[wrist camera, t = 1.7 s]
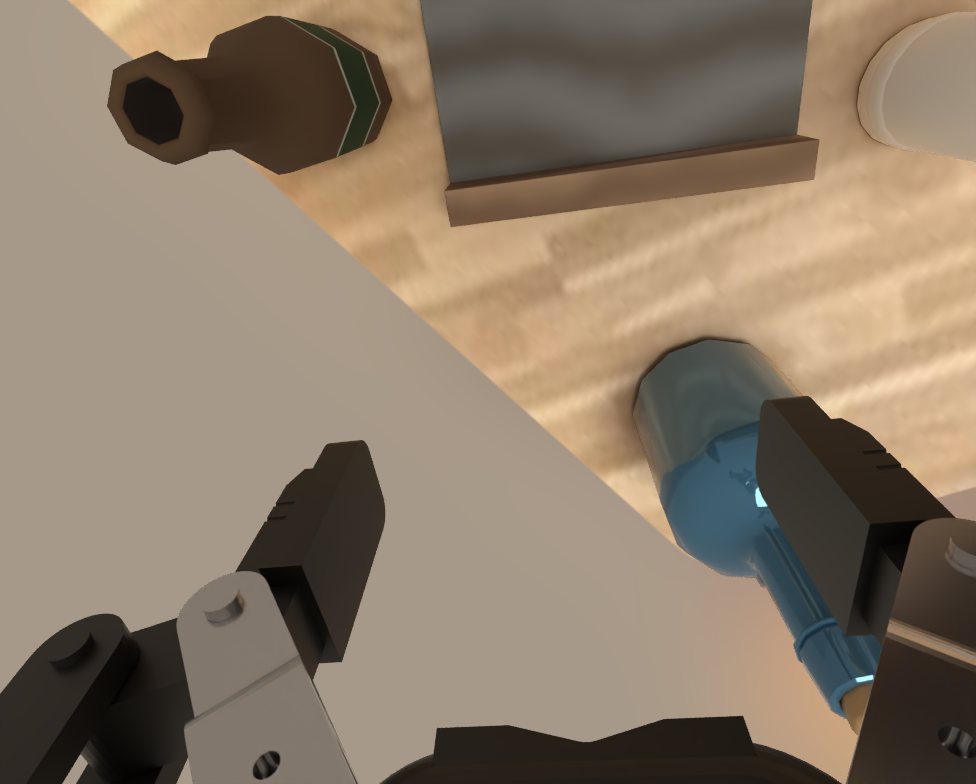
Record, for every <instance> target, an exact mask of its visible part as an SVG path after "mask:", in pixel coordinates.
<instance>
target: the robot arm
mask: <svg viewBox="0 0 976 784" xmlns="http://www.w3.org/2000/svg"><path fill="white" fill-rule="evenodd" d="M755 469H756V479H757V484H758V488H759V491H760V493H761V496H762V497H763V499H764V501H765V503H766V504H767V506H768V508H769V509H770V511H771V513H772V514H773V516H774V518H775V519H776V521H777V523H778V524H779V526H780V528H781V529H782V531H783V533H784V534H785V536H786V538H787V540H788V541H789V543H790V545H791V546H792V548H793V550H794V551H795V553H796V555H797V556H798V558H799V560H800V561H801V563H802V565H803V566H804V568H805V570H806V571H807V573H808V575H809V576H810V578H811V580H812V582H813V583H814V585H815V587H816V588H817V590H818V592H819V593H820V595H821V597H822V598H823V600H824V602H825V603H826V605H827V607H828V608H829V610H830V612H831V613H832V615H833V617H834V618H835V620H836V622H837V623H838V625H839V627H840V629H841V630H842V632H843V634H844V635H845V636H862V635H874V636H875V637H876V639H877V641H878V642H879V644H880V645H881V647H882V649H881V652H880V656H879V660H878V664H877V667H876V671H875V675H874V679H873V682H872V686H871V690H870V694H869V698H868V701H867V705H866V709H865V713H864V716H863V720H862V724H861V728H860V732H859V735H858V739H857V743H856V747H855V751H854V754H853V758H852V762H851V766H850V770H849V773H848V777H847V781H846V784H976V521H971V520H965V519H958V518H955V517H954V516H953V515H952V514H951V513H950V512H949V511H948V510H947V509H946V508H945V507H944V506H943V505H942V504H941V503H940V502H939V501H938V500H937V499H936V498H935V497H934V496H933V495H932V494H931V493H930V492H929V491H928V490H927V489H926V488H925V487H924V486H923V485H922V484H921V483H920V482H919V481H918V480H917V479H916V478H915V477H914V476H913V475H912V474H911V473H910V472H909V471H908V470H907V469H906V468H902V467H901V464H900V463H899V462H898V461H897V460H896V459H895V458H894V457H893V456H892V455H891V454H890V453H887V452H886V449H885V448H884V447H883V446H882V445H881V444H880V443H879V442H878V441H877V440H876V439H875V438H874V437H873V436H872V435H871V434H870V433H869V432H867V431H865V430H863V429H862V428H860V427H858V426H856V425H854V424H852V423H850V422H848V421H846V420H844V419H842V418H838V419H830V417H829V416H828V415H827V414H826V413H825V412H824V411H823V410H822V409H821V408H820V407H819V406H818V405H817V404H816V403H815V402H814V401H813V400H812V399H811V398H810V397H809V396H798V397H789V398H779V399H769V400H765V401H764V402H763V403H762V406H761V410H760V420H759V431H758V442H757V453H756V466H755ZM267 519H268V520H267V522H264V524H263V526H262V528H261V529H260V531H259V533H258V534H257V536H256V538H255V539H254V541H253V543H252V545H251V546H250V548H249V550H248V551H247V553H246V555H245V556H244V558H243V560H242V561H241V563H240V565H239V566H238V568H237V570H236V572H235V573H230V574H227V575H224V576H222V577H220V578H217V579H215V580H213V581H212V582H210V583H208V584H207V585H205V586H204V587H202V588H201V589H200V590H198V591H197V592H196V593H195V594H194V595H193V596H192V597H191V598H190V599H189V600H188V601H187V603H186V604H185V605H184V606H183V608H182V610H181V611H180V613H179V616H178V618H175V619H172V620H169V621H166V622H163V623H160V624H157V625H154V626H151V627H148V628H144V629H141V630H139V631H135V632H132V633H130V631H129V630H128V628H127V627H126V625H125V624H124V622H123V621H122V619H121V618H120V617H118V616H116V615H113V614H98V615H93V616H90V617H87V618H84V619H81V620H79V621H77V622H74V623H72V624H70V625H68V626H67V627H65V628H63V629H62V630H60V631H59V632H57V633H56V634H54V635H53V636H51V637H50V638H49V639H48V640H47V641H45V642H44V643H43V644H42V645H41V646H40V647H39V648H38V649H37V650H36V651H35V652H34V653H33V654H32V655H31V657H30V658H29V659H28V660H27V661H26V663H25V664H24V665H23V666H22V668H21V669H20V670H19V671H18V672H17V674H16V675H15V676H14V677H13V679H12V680H11V681H10V682H9V684H8V685H7V686H6V688H5V689H4V690H3V691H2V692H1V694H0V784H62V783H63V781H64V780H65V778H66V777H67V775H68V773H69V772H70V770H71V768H72V767H73V765H74V763H75V762H76V760H77V758H78V757H79V755H80V754H81V755H82V756H83V757H84V759H85V760H86V761H87V762H88V765H87V766H86V768H85V770H84V771H83V773H82V775H81V776H80V778H79V780H78V782H77V783H76V784H176V783H177V781H178V778H179V776H180V774H181V772H182V770H183V767H184V765H185V763H186V761H187V758H189V764H190V769H191V774H192V781H193V784H359V782H358V780H357V778H356V776H355V773H354V771H353V769H352V767H351V765H350V762H349V760H348V758H347V756H346V754H345V751H344V749H343V747H342V744H341V742H340V740H339V738H338V735H337V733H336V731H335V729H334V726H333V724H332V722H331V720H330V717H329V715H328V713H327V711H326V709H325V706H324V704H323V702H322V700H321V698H320V695H319V693H318V691H317V688H316V686H315V684H314V682H313V678H314V675H315V673H316V669H317V667H318V664H319V663H332V662H342V660H343V657H344V653H345V650H346V647H347V644H348V641H349V637H350V634H351V631H352V628H353V624H354V621H355V618H356V615H357V612H358V609H359V605H360V602H361V599H362V596H363V592H364V589H365V586H366V583H367V579H368V576H369V573H370V570H371V567H372V564H373V560H374V557H375V554H376V550H377V548H378V544H379V541H380V538H381V535H382V531H383V528H384V523H385V504H384V498H383V495H382V491H381V488H380V485H379V481H378V478H377V475H376V472H375V468H374V465H373V461H372V458H371V455H370V451H369V448H368V446H367V444H366V443H365V442H364V441H363V440H358V441H348V442H339V443H329V444H327V445H326V446H325V447H324V449H323V451H322V453H321V455H320V457H319V458H318V460H317V462H316V464H315V466H314V467H313V468H312V469H304V470H303V471H302V472H301V473H300V474H299V475H298V476H297V477H295V478H294V479H293V480H292V481H291V482H290V483H289V484H287V485H286V487H285V489H284V490H283V492H282V494H281V495H280V497H279V499H278V500H277V502H276V507H273V509H272V511H271V512H270V514H269V516H268V518H267ZM380 784H841V783H840V782H839V781H837V780H836V779H834V778H833V777H831V776H830V775H828V774H827V773H825V772H823V771H821V770H819V769H818V768H816V767H814V766H812V765H811V764H809V763H807V762H805V761H803V760H801V759H798V758H796V757H794V756H791V755H789V754H787V753H785V752H782V751H779V750H776V749H773V748H770V747H767V746H764V745H759V744H755V743H752V740H751V737H750V734H749V732H748V729H747V726H746V723H745V720H744V718H743V716H729V717H705V718H679V719H663V720H660V721H657V722H654V723H650V724H647V725H644V726H641V727H638V728H635V729H631V730H629V731H625V732H622V733H619V734H616V735H613V736H610V737H606V738H603V739H600V740H597V741H593V742H578V741H574V740H570V739H566V738H561V737H557V736H552V735H548V734H544V733H539V732H535V731H531V730H526V729H522V728H518V727H514V726H509V725H504V726H479V727H454V728H437V732H436V739H435V747H434V754H432V755H429V756H426V757H424V758H421V759H419V760H417V761H415V762H413V763H411V764H408V765H406V766H405V767H403V768H401V769H400V770H398V771H397V772H395V773H393V774H392V775H390V776H389V777H388V778H386V779H385V780H384V781H383V782H381V783H380Z"/></svg>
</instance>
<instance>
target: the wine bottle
mask: <svg viewBox="0 0 976 784" xmlns="http://www.w3.org/2000/svg"><path fill="white" fill-rule="evenodd" d="M798 396H803V395H802V393H801V392H800V391H799V390H798V389H797V388H796V387H795V385H794V384H793V383H792V382H791V381H790V380H789V379H788V377H787V376H786V375H785V374H784V373H783V372H782V371H781V369H780V368H779V367H778V366H777V365H776V364H774V363H773V362H772V361H770V360H769V359H768V358H767V357H765V356H764V355H763V354H762V353H760V352H759V351H758V350H757V349H755V348H754V347H753V346H752V345H750V344H744V343H735V342H726V341H718V340H709V339H706V340H703V341H700V342H698V343H695V344H692V345H689V346H686V347H683V348H681V349H678V350H675V351H672V352H669V353H668V354H667V355H666V356H665V357H664V358H663V359H662V360H661V361H660V362H659V363H658V364H657V365H656V366H655V367H654V368H653V369H652V370H651V371H650V372H649V373H648V374H647V375H646V376H645V377H644V378H643V380H642V382H641V385H640V389H639V393H638V397H637V400H636V404H635V408H634V411H633V417H634V420H635V423H636V426H637V429H638V432H639V435H640V439H641V442H642V445H643V448H644V451H645V454H646V457H647V460H648V464H649V467H650V470H651V473H652V476H653V479H654V482H655V485H656V489H657V492H658V495H659V498H660V501H661V504H662V507H663V509H664V512H665V514H666V517H667V520H668V522H669V525H670V527H671V530H672V533H673V535H674V538H675V540H676V543H677V545H678V546H679V547H681V548H682V549H683V550H684V551H685V552H686V553H688V554H689V555H691V556H693V557H694V558H696V559H697V560H699V561H700V562H702V563H704V564H705V565H707V566H708V567H710V568H711V569H713V570H715V571H716V572H718V573H720V574H721V575H725V576H731V577H746V578H756V579H757V581H758V583H759V584H760V586H761V587H763V588H767V590H768V592H769V594H770V596H771V598H772V600H773V601H774V603H775V605H776V607H777V609H778V611H779V612H780V615H781V616H782V619H783V620H784V622H785V624H786V626H787V628H788V630H789V632H790V634H791V636H792V637H793V639H794V641H795V642H794V649H795V652H796V656H797V659H798V660H799V661H800V662H802V663H803V666H804V667H805V669H806V670H807V672H808V674H809V675H810V677H811V679H812V680H813V682H814V683H815V685H816V686H817V688H818V690H819V691H820V693H821V695H822V696H823V698H824V699H825V701H826V703H827V704H828V706H829V708H830V709H831V711H833V712H834V713H836V714H838V715H839V716H841V717H843V718H845V719H847V720H848V722H849V724H850V726H851V728H852V730H853V731H854V732H855V733H856V734H857V735H859V732H860V728H861V724H862V720H863V716H864V713H865V709H866V705H867V701H868V698H869V694H870V690H871V686H872V682H873V679H874V675H875V671H876V667H877V664H878V660H879V656H880V652H881V649H882V647H881V645H880V644H879V642H878V641H877V639H876V637H875V636H874V635H862V636H845V635H844V634H843V632H842V630H841V629H840V627H839V625H838V623H837V622H836V620H835V618H834V617H833V615H832V613H831V612H830V610H829V608H828V607H827V605H826V603H825V602H824V600H823V598H822V597H821V595H820V593H819V592H818V590H817V588H816V587H815V585H814V583H813V582H812V580H811V578H810V576H809V575H808V573H807V571H806V570H805V568H804V566H803V565H802V563H801V561H800V560H799V558H798V556H797V555H796V553H795V551H794V550H793V548H792V546H791V545H790V543H789V541H788V540H787V538H786V536H785V534H784V533H783V531H782V529H781V528H780V526H779V524H778V523H777V521H776V519H775V518H774V516H773V514H772V513H771V511H770V509H769V508H768V506H767V504H766V503H765V501H764V499H763V497H762V496H761V493H760V491H759V488H758V484H757V479H756V469H755V466H756V453H757V442H758V431H759V420H760V410H761V406H762V403H763V402H764V401H765V400H769V399H779V398H789V397H798Z"/></svg>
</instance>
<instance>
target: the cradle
mask: <svg viewBox="0 0 976 784" xmlns="http://www.w3.org/2000/svg"><path fill="white" fill-rule="evenodd" d="M420 1H421V7H422V13H423V19H424V25H425V31H426V38H427V44H428V50H429V56H430V62H431V68H432V74H433V80H434V86H435V93H436V99H437V105H438V111H439V117H440V123H441V129H442V135H443V142H444V148H445V154H446V160H447V166H448V172H449V178H450V184H449V186H448V187H447V189H446V190H445V197H446V203H447V209H448V215H449V221H450V226H451V227H455V226H463V225H470V224H478V223H486V222H493V221H501V220H509V219H516V218H524V217H532V216H539V215H547V214H555V213H562V212H570V211H578V210H585V209H593V208H601V207H608V206H616V205H624V204H631V203H639V202H647V201H654V200H662V199H670V198H678V197H685V196H693V195H701V194H708V193H716V192H724V191H731V190H739V189H747V188H754V187H762V186H770V185H777V184H785V183H793V182H800V181H808V180H814V176H815V168H816V161H817V153H818V146H819V139H814V138H810V137H805V136H800V135H797V128H798V119H799V111H800V102H801V93H802V85H803V76H804V68H805V59H806V50H807V42H808V33H809V25H810V16H811V8H812V0H420Z"/></svg>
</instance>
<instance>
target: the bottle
mask: <svg viewBox="0 0 976 784" xmlns="http://www.w3.org/2000/svg"><path fill="white" fill-rule="evenodd" d="M857 109H858V113H859V117H860V121H861V125H862V126H863V128H864V129H865V130H866V131H867V132H868V134H869V135H870V136H871V137H872V138H873V139H875V140H877V141H879V142H882V143H884V144H886V145H888V146H893V147H896V148H898V149H901V150H905V151H920V152H925V153H931V154H936V155H941V156H947V157H952V158H957V159H962V160H968V161H973V162H976V11H974V12H953V13H947V14H943V15H940V16H938V17H932V18H928V19H925V20H923V21H920V22H917V23H915V24H912V25H909V26H907V27H906V28H904V29H903V30H901V31H900V32H899V33H897V34H896V35H895V36H893V37H892V38H891V39H889V40H888V41H887V42H886V43H885V44H884V45H883V46H882V48H881V49H880V50H879V51H878V53H877V54H876V55H875V56H874V58H873V59H872V60H871V61H870V63H869V65H868V67H867V70H866V72H865V74H864V76H863V78H862V81H861V83H860V86H859V94H858V102H857Z"/></svg>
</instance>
